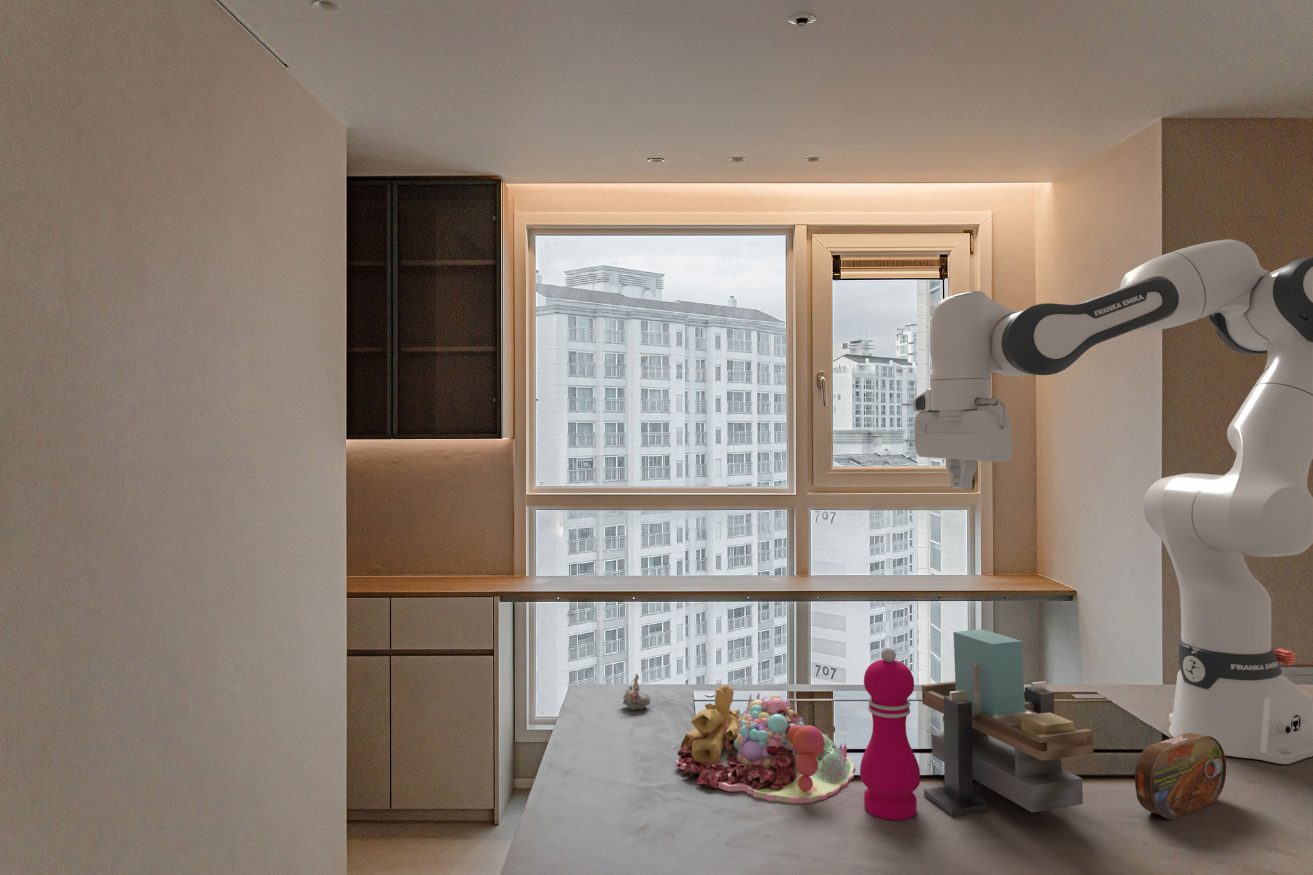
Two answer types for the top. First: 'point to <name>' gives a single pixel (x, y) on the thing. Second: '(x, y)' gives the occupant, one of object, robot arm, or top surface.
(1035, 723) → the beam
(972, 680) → the teal rectangular block
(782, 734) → the candy landscape model
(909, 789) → the pepper mill
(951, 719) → the fulcrum
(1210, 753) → the tin
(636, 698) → the figurine
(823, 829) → the top surface
